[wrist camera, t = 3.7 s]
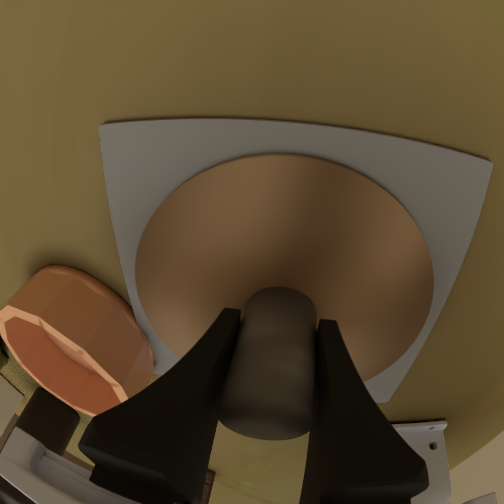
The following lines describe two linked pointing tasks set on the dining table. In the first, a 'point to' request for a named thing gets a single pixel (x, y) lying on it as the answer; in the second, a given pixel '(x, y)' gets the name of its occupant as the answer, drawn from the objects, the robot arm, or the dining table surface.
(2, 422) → the milk carton
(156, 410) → the robot arm
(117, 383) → the bowl
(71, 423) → the bottle
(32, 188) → the dining table surface
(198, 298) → the lid
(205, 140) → the mat
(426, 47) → the dining table surface
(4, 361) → the pear
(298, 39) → the dining table surface
